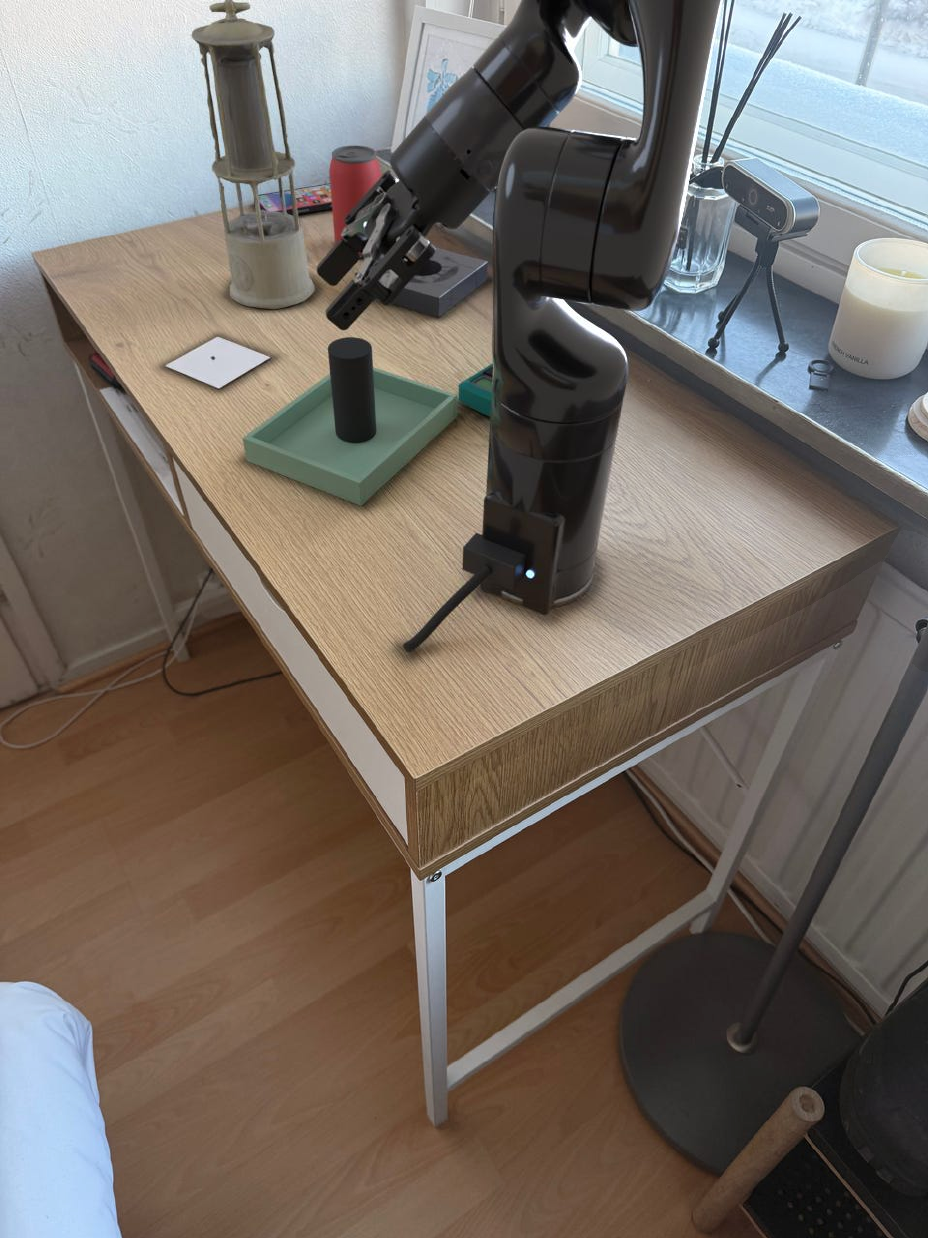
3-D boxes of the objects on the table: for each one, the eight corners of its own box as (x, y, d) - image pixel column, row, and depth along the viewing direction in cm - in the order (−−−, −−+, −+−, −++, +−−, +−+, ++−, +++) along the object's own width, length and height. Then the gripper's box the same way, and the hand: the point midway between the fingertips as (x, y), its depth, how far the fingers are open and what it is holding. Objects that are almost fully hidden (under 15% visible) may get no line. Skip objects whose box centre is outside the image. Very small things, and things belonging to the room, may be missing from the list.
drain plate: (438, 317, 104) (439, 297, 102) (356, 293, 108) (354, 273, 106) (487, 280, 111) (488, 260, 109) (407, 258, 115) (407, 239, 113)
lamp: (232, 312, 103) (179, 10, 82) (226, 266, 112) (177, -18, 91) (319, 305, 105) (289, 8, 84) (307, 260, 114) (278, -20, 92)
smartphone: (251, 195, 126) (347, 180, 131) (252, 202, 127) (348, 186, 132) (267, 213, 122) (366, 196, 127) (268, 220, 123) (366, 203, 127)
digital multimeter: (590, 373, 96) (593, 348, 93) (512, 431, 87) (514, 405, 85) (535, 351, 99) (537, 327, 97) (455, 405, 90) (455, 380, 88)
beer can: (331, 241, 118) (322, 145, 110) (378, 236, 120) (373, 141, 111) (340, 261, 114) (333, 163, 105) (389, 256, 115) (386, 159, 107)
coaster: (270, 357, 96) (269, 350, 95) (218, 388, 91) (217, 381, 91) (217, 336, 99) (216, 330, 98) (164, 365, 94) (163, 359, 93)
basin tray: (361, 506, 78) (359, 483, 76) (246, 460, 83) (242, 437, 81) (457, 416, 89) (457, 394, 87) (350, 380, 93) (349, 358, 91)
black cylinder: (361, 447, 83) (355, 362, 77) (327, 435, 85) (318, 350, 78) (384, 428, 86) (380, 344, 79) (351, 416, 87) (344, 332, 81)
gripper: (413, 88, 71) (288, 238, 78) (447, 143, 62) (301, 309, 68) (473, 156, 76) (351, 291, 82) (514, 217, 66) (371, 366, 72)
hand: (328, 299), depth 75 cm, fingers open, 8 cm apart
